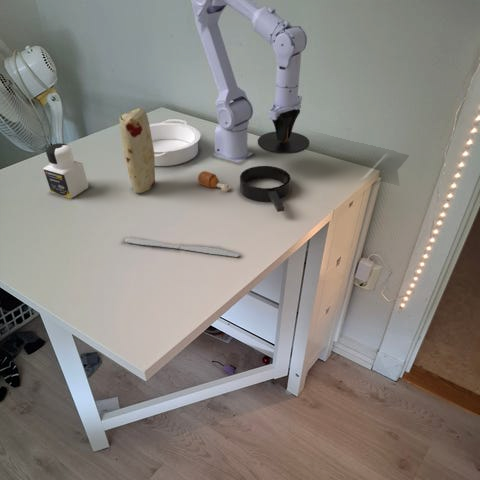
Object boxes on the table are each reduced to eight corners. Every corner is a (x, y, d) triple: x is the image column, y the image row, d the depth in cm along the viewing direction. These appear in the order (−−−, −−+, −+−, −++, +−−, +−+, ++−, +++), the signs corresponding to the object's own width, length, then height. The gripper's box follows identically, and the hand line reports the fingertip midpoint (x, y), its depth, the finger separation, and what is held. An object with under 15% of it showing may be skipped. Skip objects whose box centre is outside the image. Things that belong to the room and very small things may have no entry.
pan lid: (247, 148, 119) (248, 130, 115) (273, 131, 127) (274, 113, 124) (294, 160, 113) (296, 141, 110) (317, 141, 122) (319, 123, 119)
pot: (147, 131, 147) (145, 116, 144) (211, 136, 144) (210, 121, 141) (113, 169, 127) (110, 153, 124) (187, 175, 124) (186, 159, 121)
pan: (230, 194, 116) (230, 180, 113) (256, 175, 124) (256, 161, 121) (273, 208, 111) (274, 194, 108) (297, 187, 119) (299, 173, 116)
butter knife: (128, 234, 102) (122, 240, 99) (240, 251, 97) (237, 258, 95) (128, 236, 102) (123, 242, 100) (240, 253, 98) (237, 260, 95)
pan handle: (267, 194, 111) (267, 190, 111) (274, 193, 112) (274, 189, 111) (277, 212, 105) (277, 208, 104) (284, 211, 105) (284, 207, 105)
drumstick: (195, 186, 120) (194, 172, 117) (203, 181, 122) (203, 167, 119) (224, 195, 116) (224, 181, 113) (232, 190, 118) (232, 176, 116)
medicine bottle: (50, 193, 117) (36, 148, 109) (69, 181, 121) (57, 138, 113) (70, 199, 115) (57, 154, 106) (89, 187, 119) (78, 143, 111)
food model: (147, 198, 115) (134, 119, 101) (125, 194, 116) (109, 116, 102) (163, 181, 122) (153, 105, 108) (142, 178, 123) (129, 102, 109)
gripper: (287, 95, 104) (283, 151, 113) (314, 79, 112) (308, 133, 122) (262, 90, 106) (260, 145, 116) (289, 75, 115) (286, 127, 125)
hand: (283, 138), depth 119 cm, fingers closed on pan lid, 2 cm apart
